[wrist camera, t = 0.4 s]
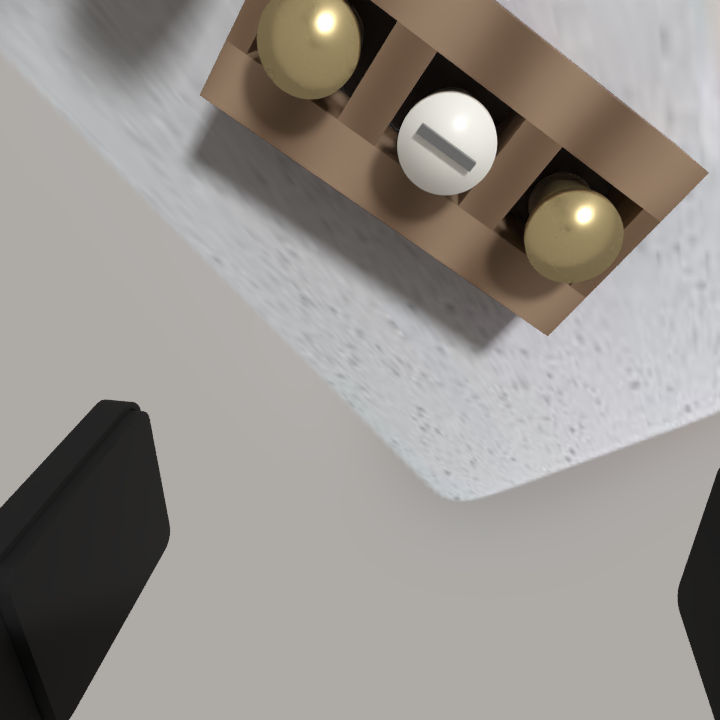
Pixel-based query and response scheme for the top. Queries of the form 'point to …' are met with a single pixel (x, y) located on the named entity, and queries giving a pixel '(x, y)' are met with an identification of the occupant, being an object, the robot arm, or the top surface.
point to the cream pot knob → (447, 142)
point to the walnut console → (514, 134)
